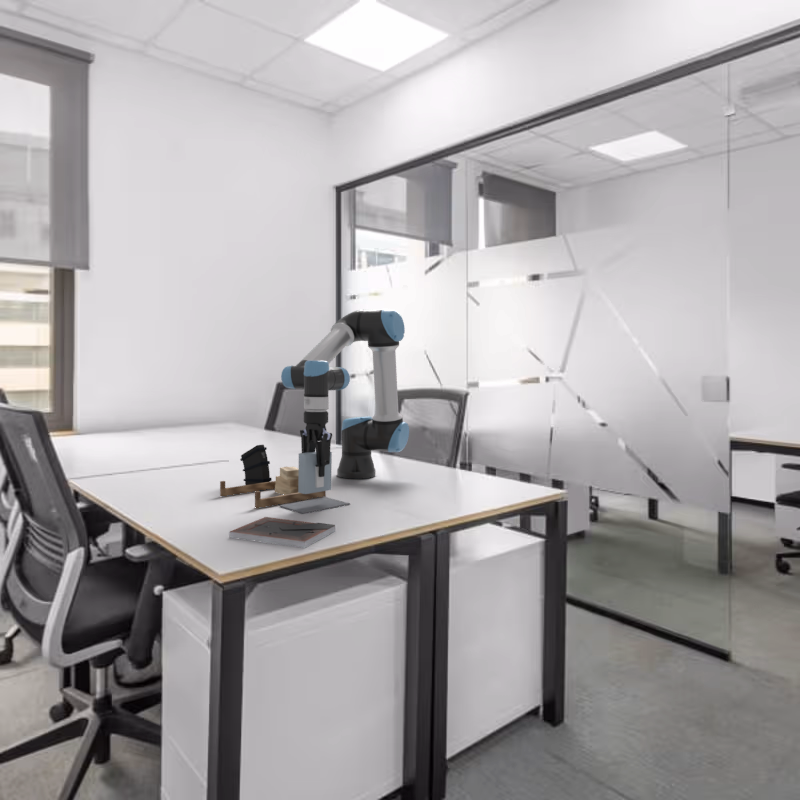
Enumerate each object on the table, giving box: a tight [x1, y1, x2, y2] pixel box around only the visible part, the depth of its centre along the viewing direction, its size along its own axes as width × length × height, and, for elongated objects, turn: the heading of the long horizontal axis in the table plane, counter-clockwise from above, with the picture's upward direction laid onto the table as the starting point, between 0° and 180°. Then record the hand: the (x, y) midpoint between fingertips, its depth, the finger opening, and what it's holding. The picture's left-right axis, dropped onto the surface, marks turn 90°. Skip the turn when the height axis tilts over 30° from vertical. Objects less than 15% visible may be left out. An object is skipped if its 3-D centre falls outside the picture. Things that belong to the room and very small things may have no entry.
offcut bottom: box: [274, 485, 298, 495], centre depth 209 cm, size 6×10×3 cm, turn 42°
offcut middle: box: [275, 475, 298, 490], centre depth 209 cm, size 6×9×3 cm, turn 41°
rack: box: [219, 480, 327, 509], centre depth 204 cm, size 26×22×7 cm
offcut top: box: [279, 466, 299, 480], centre depth 208 cm, size 5×7×3 cm
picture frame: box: [228, 516, 336, 549], centre depth 160 cm, size 16×2×22 cm
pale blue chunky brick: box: [298, 451, 333, 494], centre depth 191 cm, size 10×4×12 cm, turn 135°
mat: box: [279, 496, 351, 515], centre depth 192 cm, size 18×12×1 cm, turn 135°
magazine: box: [239, 444, 273, 485], centre depth 219 cm, size 4×13×15 cm, turn 50°
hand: (315, 485), depth 191 cm, fingers closed on pale blue chunky brick, 3 cm apart
